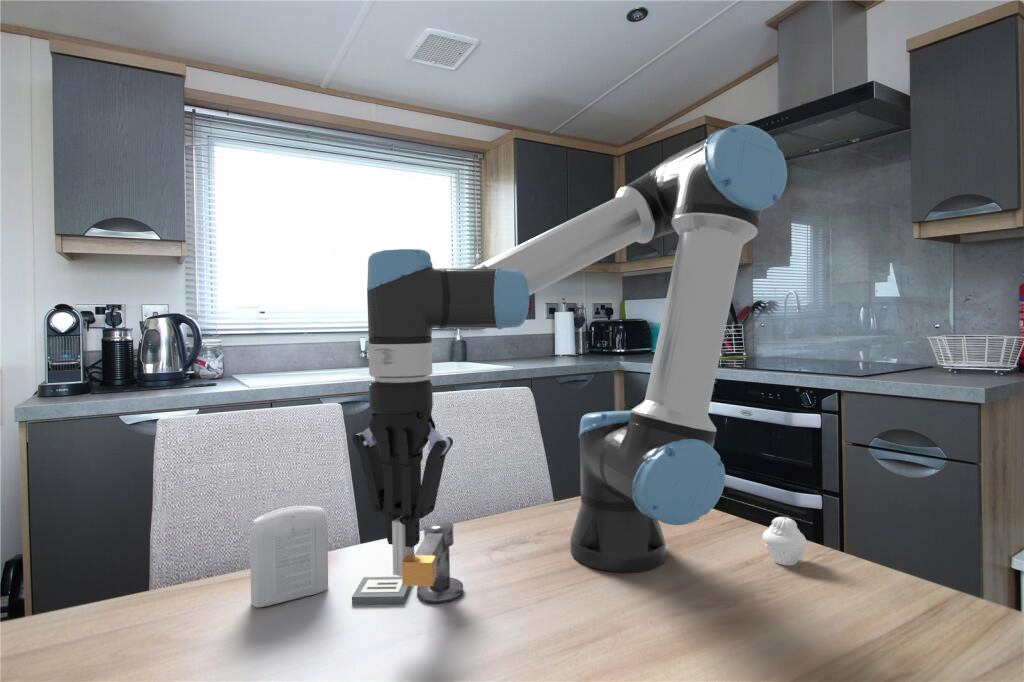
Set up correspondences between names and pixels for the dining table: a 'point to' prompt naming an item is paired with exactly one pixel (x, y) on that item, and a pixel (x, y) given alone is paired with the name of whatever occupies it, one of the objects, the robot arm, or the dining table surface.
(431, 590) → the round-base stand
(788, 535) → the muffin
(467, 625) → the dining table surface
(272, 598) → the photo printer
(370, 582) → the label tile
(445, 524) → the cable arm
